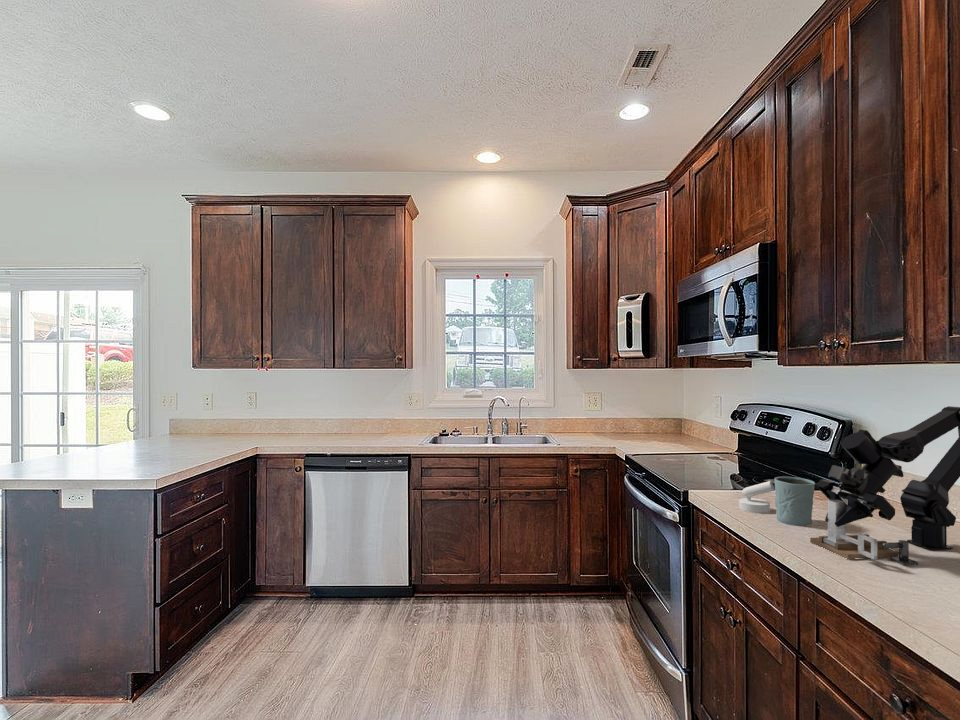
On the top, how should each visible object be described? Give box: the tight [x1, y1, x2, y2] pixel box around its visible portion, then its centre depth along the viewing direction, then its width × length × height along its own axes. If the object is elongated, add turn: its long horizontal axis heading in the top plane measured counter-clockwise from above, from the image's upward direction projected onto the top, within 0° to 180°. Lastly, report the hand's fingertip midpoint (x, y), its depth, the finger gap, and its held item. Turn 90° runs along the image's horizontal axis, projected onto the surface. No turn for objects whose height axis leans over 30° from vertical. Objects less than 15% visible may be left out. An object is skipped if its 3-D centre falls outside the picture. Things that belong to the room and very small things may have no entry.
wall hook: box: [738, 480, 776, 514], centre depth 166 cm, size 9×10×10 cm
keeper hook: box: [882, 539, 919, 567], centre depth 122 cm, size 7×4×5 cm, turn 96°
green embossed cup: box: [774, 476, 816, 527], centre depth 154 cm, size 10×10×12 cm
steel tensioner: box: [824, 499, 878, 560], centre depth 126 cm, size 4×13×10 cm, turn 6°
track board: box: [809, 533, 899, 560], centre depth 131 cm, size 13×12×3 cm
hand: (831, 523), depth 130 cm, fingers closed on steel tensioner, 3 cm apart
